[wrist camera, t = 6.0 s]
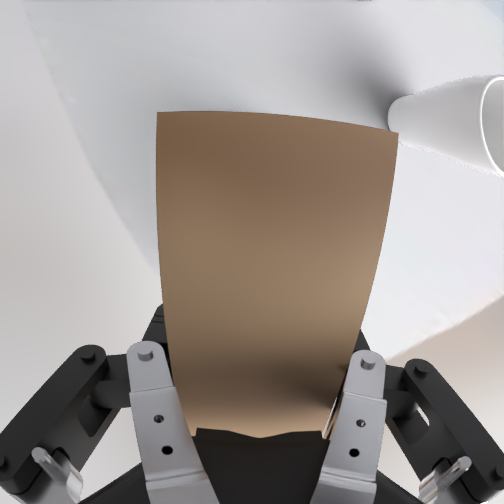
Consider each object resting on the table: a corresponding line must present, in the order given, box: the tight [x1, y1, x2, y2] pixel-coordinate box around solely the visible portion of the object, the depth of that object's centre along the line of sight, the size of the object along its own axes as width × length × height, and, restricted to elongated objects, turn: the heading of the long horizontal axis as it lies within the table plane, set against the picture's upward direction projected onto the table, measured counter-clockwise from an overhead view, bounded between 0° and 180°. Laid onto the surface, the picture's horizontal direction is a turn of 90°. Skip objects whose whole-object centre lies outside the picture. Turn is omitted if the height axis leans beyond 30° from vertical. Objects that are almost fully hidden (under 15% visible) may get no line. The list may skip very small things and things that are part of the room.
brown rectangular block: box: [156, 111, 399, 438], centre depth 11 cm, size 16×6×5 cm, turn 177°
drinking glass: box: [388, 75, 504, 177], centre depth 18 cm, size 7×7×15 cm
